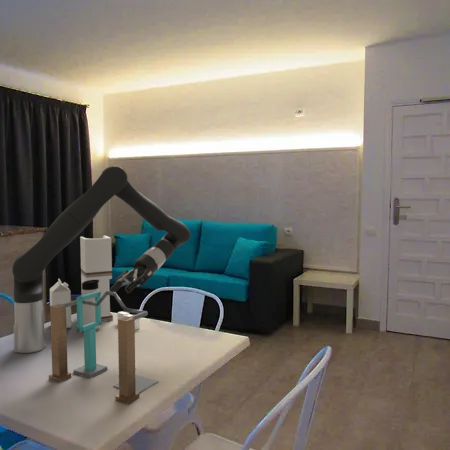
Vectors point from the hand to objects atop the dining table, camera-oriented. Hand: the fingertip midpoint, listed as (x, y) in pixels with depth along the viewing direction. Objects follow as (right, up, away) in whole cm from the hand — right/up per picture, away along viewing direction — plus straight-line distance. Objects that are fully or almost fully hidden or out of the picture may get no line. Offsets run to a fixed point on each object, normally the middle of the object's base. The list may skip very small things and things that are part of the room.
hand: (119, 291), depth 148 cm
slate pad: (+10, -23, -20) cm, 33 cm away
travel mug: (-18, -20, +28) cm, 39 cm away
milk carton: (-31, -19, +33) cm, 49 cm away
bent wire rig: (-1, -23, -20) cm, 31 cm away
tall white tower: (-20, -18, +44) cm, 52 cm away
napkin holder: (-4, -20, +34) cm, 39 cm away
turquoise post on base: (-6, -23, -12) cm, 26 cm away
